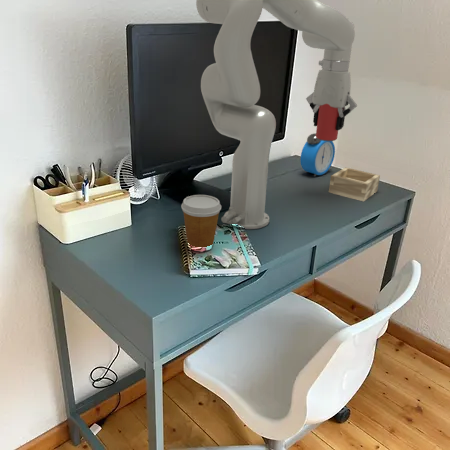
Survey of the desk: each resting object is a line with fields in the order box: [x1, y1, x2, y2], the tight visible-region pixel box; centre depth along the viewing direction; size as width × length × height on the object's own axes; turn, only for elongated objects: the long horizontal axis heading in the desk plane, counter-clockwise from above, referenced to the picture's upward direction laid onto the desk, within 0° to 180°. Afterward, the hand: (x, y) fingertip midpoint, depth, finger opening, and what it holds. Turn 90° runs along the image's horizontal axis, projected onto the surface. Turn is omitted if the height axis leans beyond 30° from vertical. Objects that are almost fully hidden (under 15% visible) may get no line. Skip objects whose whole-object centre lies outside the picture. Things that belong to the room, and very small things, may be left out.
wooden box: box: [328, 167, 381, 202], centre depth 162 cm, size 12×12×6 cm
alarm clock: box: [300, 132, 336, 178], centre depth 176 cm, size 13×6×15 cm, turn 135°
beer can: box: [315, 104, 339, 142], centre depth 151 cm, size 7×7×12 cm
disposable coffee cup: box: [180, 194, 222, 247], centre depth 120 cm, size 10×10×12 cm
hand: (327, 127), depth 151 cm, fingers closed on beer can, 6 cm apart
